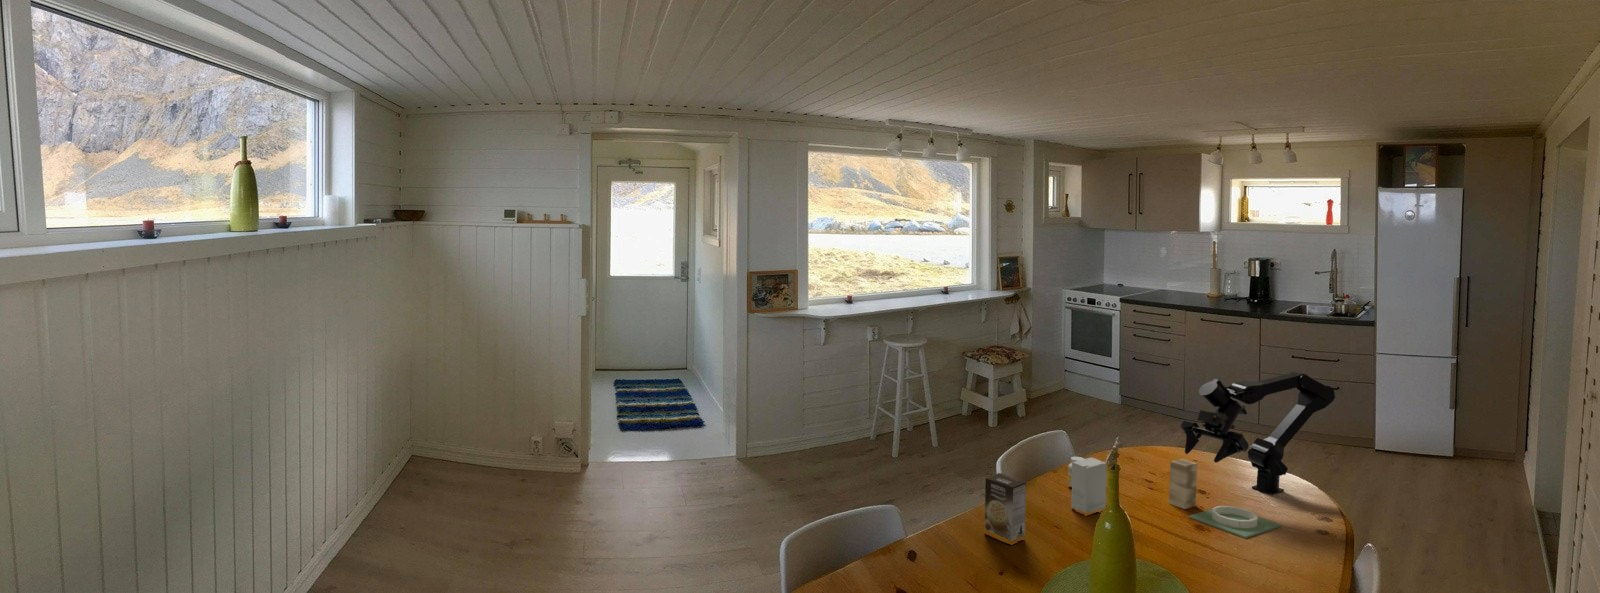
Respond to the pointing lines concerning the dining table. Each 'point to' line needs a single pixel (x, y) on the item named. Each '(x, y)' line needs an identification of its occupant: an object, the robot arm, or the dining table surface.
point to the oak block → (1183, 483)
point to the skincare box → (1088, 485)
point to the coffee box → (1005, 506)
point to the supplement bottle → (1073, 459)
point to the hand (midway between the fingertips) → (1200, 457)
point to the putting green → (1235, 521)
